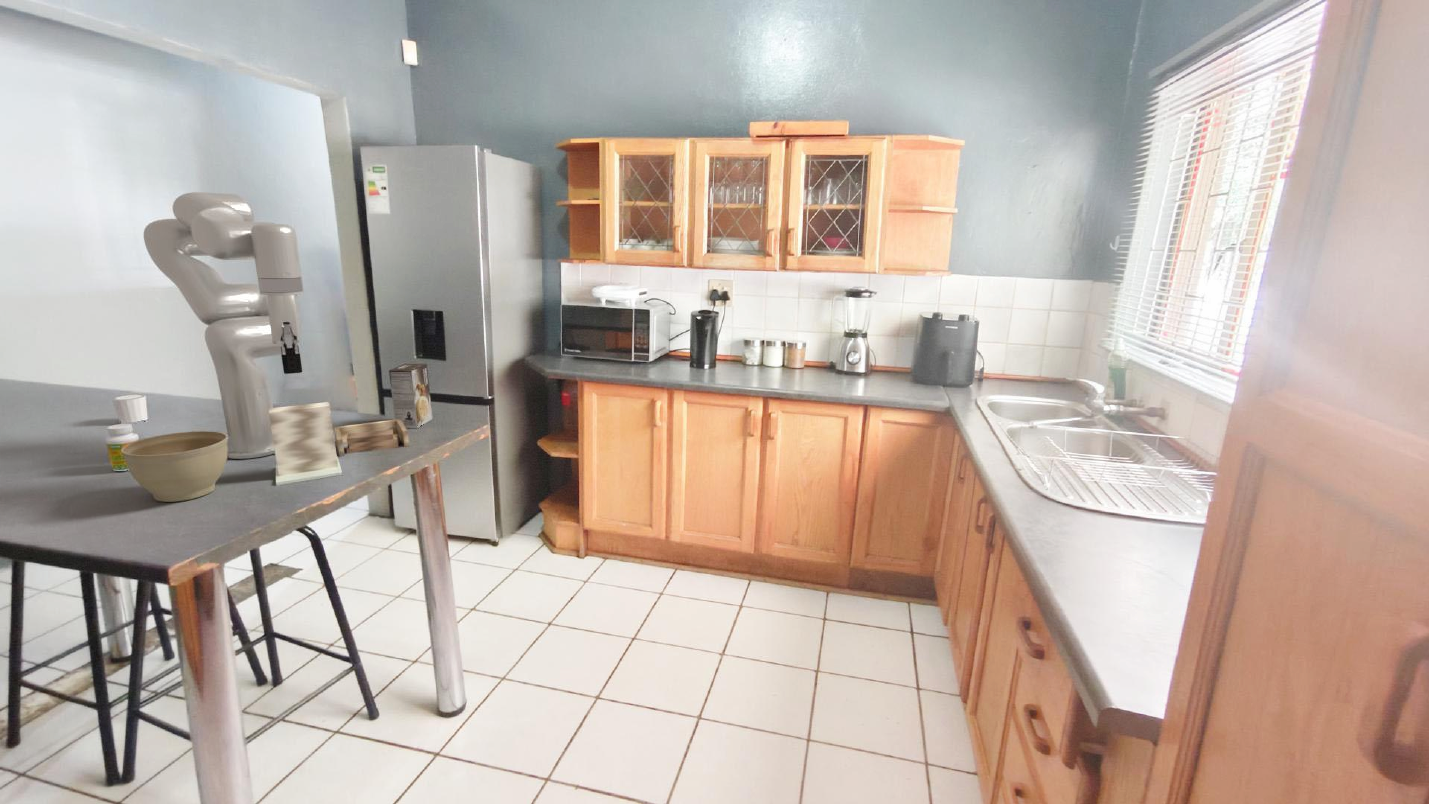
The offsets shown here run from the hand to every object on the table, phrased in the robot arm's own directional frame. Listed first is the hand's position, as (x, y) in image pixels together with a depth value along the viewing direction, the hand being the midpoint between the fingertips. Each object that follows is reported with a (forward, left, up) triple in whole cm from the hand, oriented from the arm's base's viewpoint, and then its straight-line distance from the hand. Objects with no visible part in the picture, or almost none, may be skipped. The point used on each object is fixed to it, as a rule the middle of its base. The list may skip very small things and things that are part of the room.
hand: (292, 368), depth 137 cm
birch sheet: (0, 0, -22) cm, 22 cm away
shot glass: (-38, +67, -23) cm, 80 cm away
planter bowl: (-21, -2, -23) cm, 31 cm away
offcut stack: (+14, +10, -23) cm, 29 cm away
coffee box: (+26, +28, -23) cm, 45 cm away
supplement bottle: (-33, +22, -23) cm, 46 cm away
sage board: (0, 0, -23) cm, 23 cm away
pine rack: (+14, +14, -23) cm, 30 cm away
